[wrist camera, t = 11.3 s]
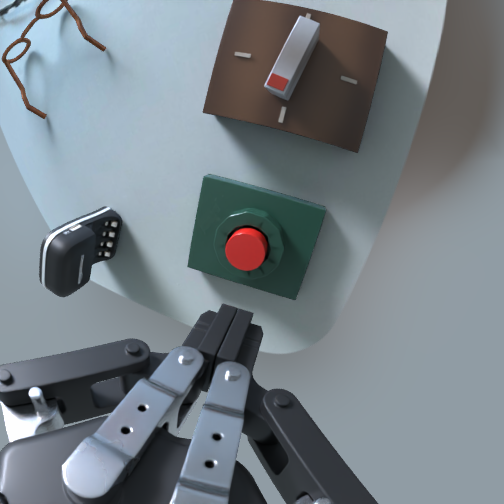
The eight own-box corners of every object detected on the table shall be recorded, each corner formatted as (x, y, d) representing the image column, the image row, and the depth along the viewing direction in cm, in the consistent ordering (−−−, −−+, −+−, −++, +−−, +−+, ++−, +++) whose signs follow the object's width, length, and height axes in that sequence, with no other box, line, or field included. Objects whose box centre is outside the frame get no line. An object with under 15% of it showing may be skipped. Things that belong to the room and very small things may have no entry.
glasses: (74, -6, 24) (50, -14, 20) (108, 49, 27) (81, 42, 22) (19, 61, 29) (-5, 60, 24) (45, 120, 31) (18, 123, 27)
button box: (325, 206, 30) (327, 215, 26) (296, 292, 34) (294, 309, 30) (209, 173, 31) (196, 178, 27) (192, 260, 35) (180, 274, 31)
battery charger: (118, 264, 37) (61, 309, 26) (96, 250, 37) (37, 290, 26) (130, 216, 34) (66, 252, 24) (106, 202, 34) (39, 233, 24)
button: (272, 233, 28) (269, 239, 27) (262, 267, 30) (259, 275, 28) (234, 222, 29) (229, 228, 27) (226, 256, 30) (221, 264, 29)
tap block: (381, 40, 22) (388, 31, 19) (353, 151, 27) (357, 153, 24) (241, 7, 23) (233, -4, 21) (212, 114, 28) (201, 112, 25)
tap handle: (302, 31, 21) (299, 14, 17) (319, 39, 21) (320, 22, 17) (271, 93, 24) (263, 85, 20) (288, 101, 24) (283, 94, 20)
